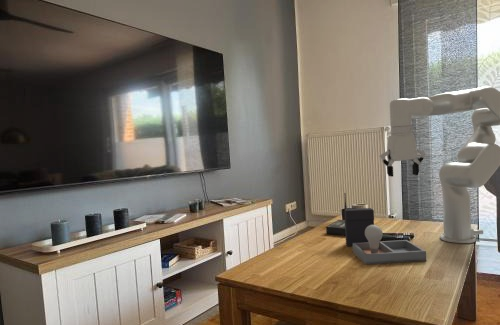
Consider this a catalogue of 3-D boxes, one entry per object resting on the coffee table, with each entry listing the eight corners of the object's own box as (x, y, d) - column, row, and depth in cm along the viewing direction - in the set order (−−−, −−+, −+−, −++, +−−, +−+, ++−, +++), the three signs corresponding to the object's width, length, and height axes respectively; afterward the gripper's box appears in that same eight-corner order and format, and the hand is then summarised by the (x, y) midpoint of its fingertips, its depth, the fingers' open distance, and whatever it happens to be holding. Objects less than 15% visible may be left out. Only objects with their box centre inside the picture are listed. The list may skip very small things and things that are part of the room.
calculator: (372, 243, 139) (371, 207, 138) (375, 246, 134) (373, 209, 134) (345, 244, 140) (343, 208, 139) (347, 247, 136) (345, 210, 135)
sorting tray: (407, 248, 129) (406, 239, 129) (426, 261, 115) (426, 251, 115) (352, 252, 129) (352, 243, 129) (365, 264, 115) (365, 254, 115)
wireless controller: (352, 237, 150) (350, 199, 149) (323, 234, 158) (321, 198, 157) (365, 227, 166) (364, 193, 165) (338, 225, 174) (337, 192, 173)
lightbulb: (383, 252, 124) (382, 223, 123) (383, 258, 118) (382, 227, 117) (365, 251, 126) (364, 222, 125) (365, 257, 120) (364, 226, 120)
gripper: (418, 130, 133) (420, 173, 134) (375, 133, 133) (377, 176, 134) (428, 129, 125) (430, 174, 126) (382, 132, 125) (384, 177, 126)
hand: (403, 175), depth 130 cm, fingers open, 9 cm apart
